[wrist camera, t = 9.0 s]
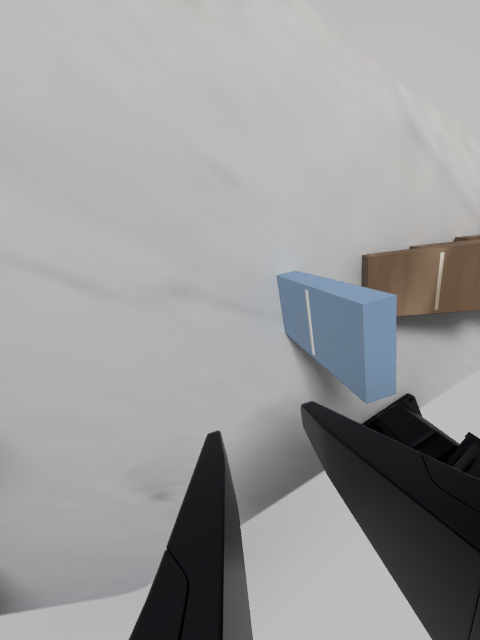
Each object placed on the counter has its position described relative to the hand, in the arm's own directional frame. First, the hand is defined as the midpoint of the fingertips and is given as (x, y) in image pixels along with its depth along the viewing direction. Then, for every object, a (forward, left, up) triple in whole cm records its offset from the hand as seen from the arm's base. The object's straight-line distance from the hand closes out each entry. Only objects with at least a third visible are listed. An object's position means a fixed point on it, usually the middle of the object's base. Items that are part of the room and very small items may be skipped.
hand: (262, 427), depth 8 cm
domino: (-4, -12, -11) cm, 17 cm away
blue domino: (-2, -6, -12) cm, 14 cm away
